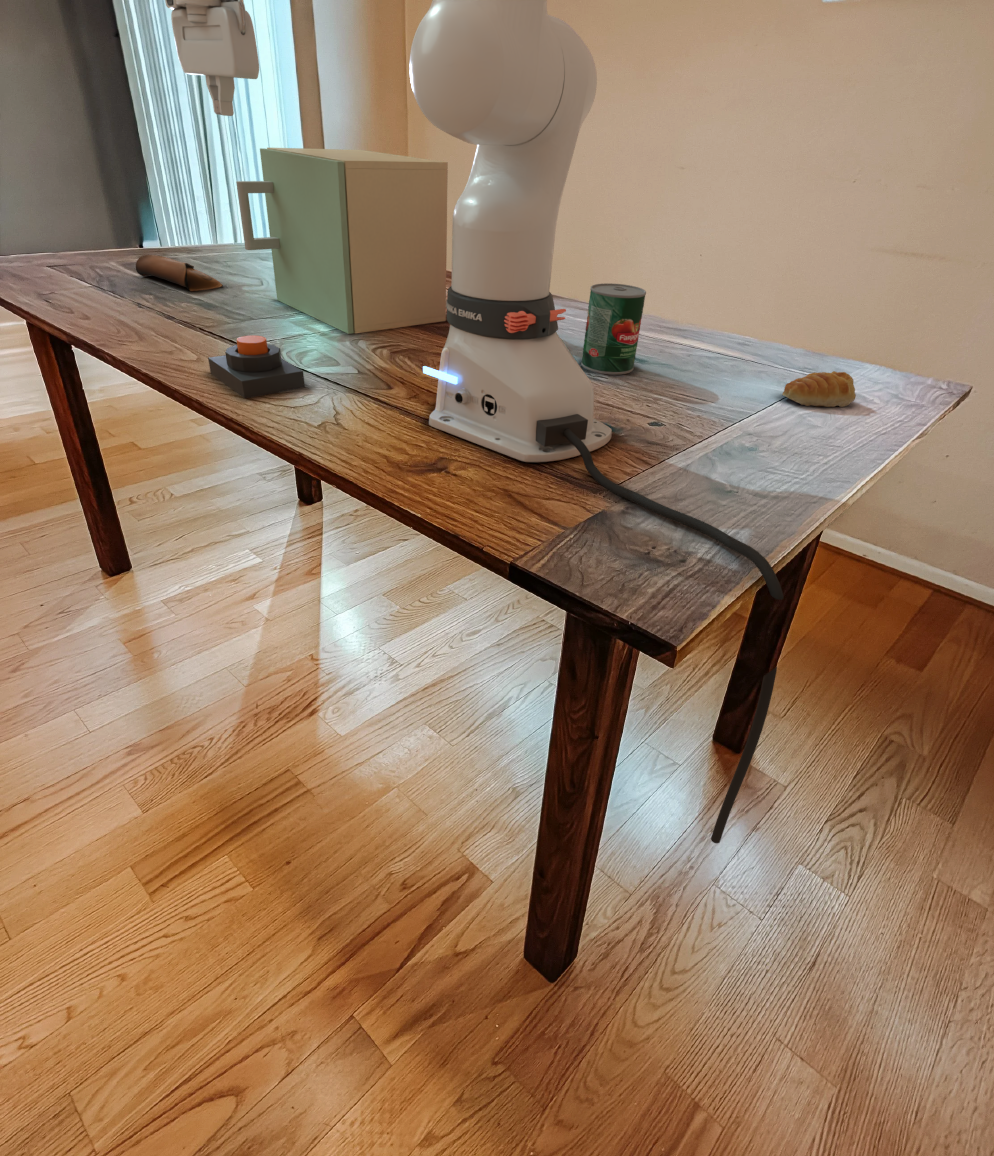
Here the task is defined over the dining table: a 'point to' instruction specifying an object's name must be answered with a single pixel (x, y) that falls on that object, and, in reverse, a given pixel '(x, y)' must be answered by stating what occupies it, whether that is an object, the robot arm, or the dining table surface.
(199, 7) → the robot arm
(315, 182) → the cupboard door
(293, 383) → the control block
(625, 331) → the canned tomato
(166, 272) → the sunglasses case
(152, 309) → the dining table surface
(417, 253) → the cupboard
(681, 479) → the dining table surface
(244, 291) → the dining table surface
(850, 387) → the pastry
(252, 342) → the button
